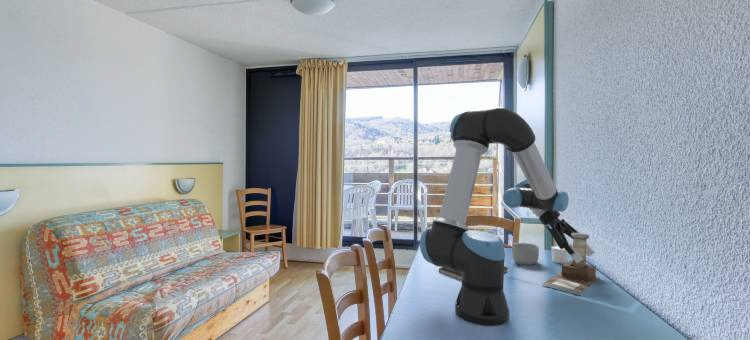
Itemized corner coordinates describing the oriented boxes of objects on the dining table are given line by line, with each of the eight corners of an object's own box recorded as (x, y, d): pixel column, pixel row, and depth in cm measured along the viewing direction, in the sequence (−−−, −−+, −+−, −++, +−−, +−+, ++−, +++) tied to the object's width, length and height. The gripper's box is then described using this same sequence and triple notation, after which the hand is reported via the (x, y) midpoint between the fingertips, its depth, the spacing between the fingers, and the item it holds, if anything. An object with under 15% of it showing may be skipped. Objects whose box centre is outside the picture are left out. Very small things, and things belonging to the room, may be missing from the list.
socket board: (579, 296, 118) (580, 281, 117) (542, 286, 126) (542, 272, 126) (600, 280, 133) (600, 267, 133) (565, 272, 142) (566, 260, 142)
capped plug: (584, 280, 131) (586, 236, 130) (567, 275, 135) (569, 234, 134) (589, 276, 135) (591, 234, 134) (572, 272, 139) (574, 232, 138)
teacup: (543, 268, 147) (543, 249, 147) (516, 267, 147) (517, 248, 147) (529, 258, 161) (529, 241, 161) (505, 258, 161) (505, 240, 161)
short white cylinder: (548, 261, 158) (548, 245, 157) (564, 261, 157) (565, 246, 156) (553, 265, 151) (554, 249, 151) (571, 266, 150) (571, 250, 150)
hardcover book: (508, 273, 142) (508, 267, 142) (471, 285, 128) (471, 279, 128) (475, 263, 155) (475, 258, 155) (438, 273, 141) (438, 267, 141)
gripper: (550, 215, 153) (588, 257, 143) (525, 221, 137) (566, 270, 126) (564, 204, 149) (604, 246, 139) (540, 209, 133) (583, 258, 122)
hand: (586, 257), depth 133 cm, fingers open, 12 cm apart
